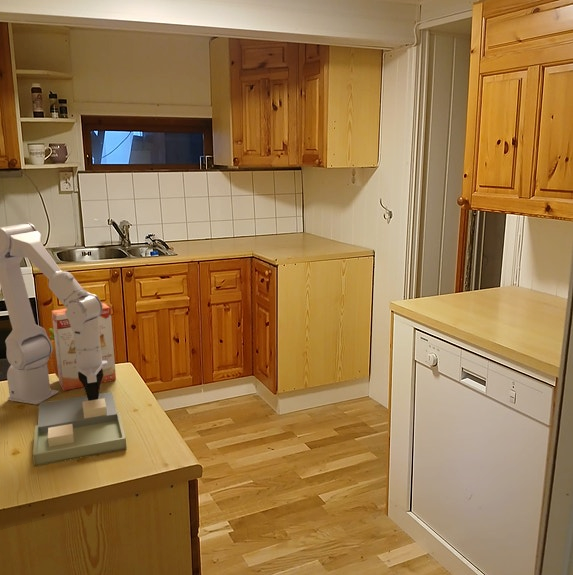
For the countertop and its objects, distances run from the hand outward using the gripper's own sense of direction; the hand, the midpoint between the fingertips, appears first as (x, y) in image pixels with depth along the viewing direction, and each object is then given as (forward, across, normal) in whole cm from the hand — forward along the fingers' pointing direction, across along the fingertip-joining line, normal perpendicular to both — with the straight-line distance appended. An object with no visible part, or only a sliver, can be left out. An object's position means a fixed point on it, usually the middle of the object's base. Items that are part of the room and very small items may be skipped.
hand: (93, 399), depth 142 cm
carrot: (+3, +23, +7) cm, 24 cm away
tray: (+3, -15, +4) cm, 16 cm away
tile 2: (+1, -6, 0) cm, 6 cm away
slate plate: (+3, -2, +4) cm, 5 cm away
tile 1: (+2, -13, +8) cm, 15 cm away
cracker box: (+3, +19, 0) cm, 19 cm away
